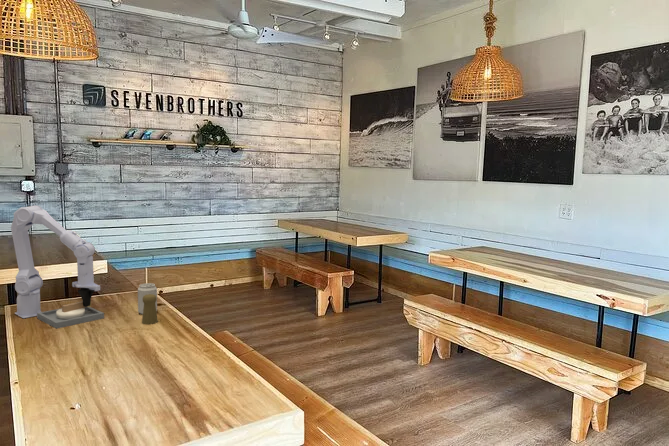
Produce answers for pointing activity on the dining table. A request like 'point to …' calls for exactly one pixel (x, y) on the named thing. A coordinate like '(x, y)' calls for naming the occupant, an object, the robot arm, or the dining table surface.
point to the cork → (149, 309)
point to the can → (145, 290)
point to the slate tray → (55, 322)
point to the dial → (71, 311)
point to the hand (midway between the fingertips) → (86, 306)
